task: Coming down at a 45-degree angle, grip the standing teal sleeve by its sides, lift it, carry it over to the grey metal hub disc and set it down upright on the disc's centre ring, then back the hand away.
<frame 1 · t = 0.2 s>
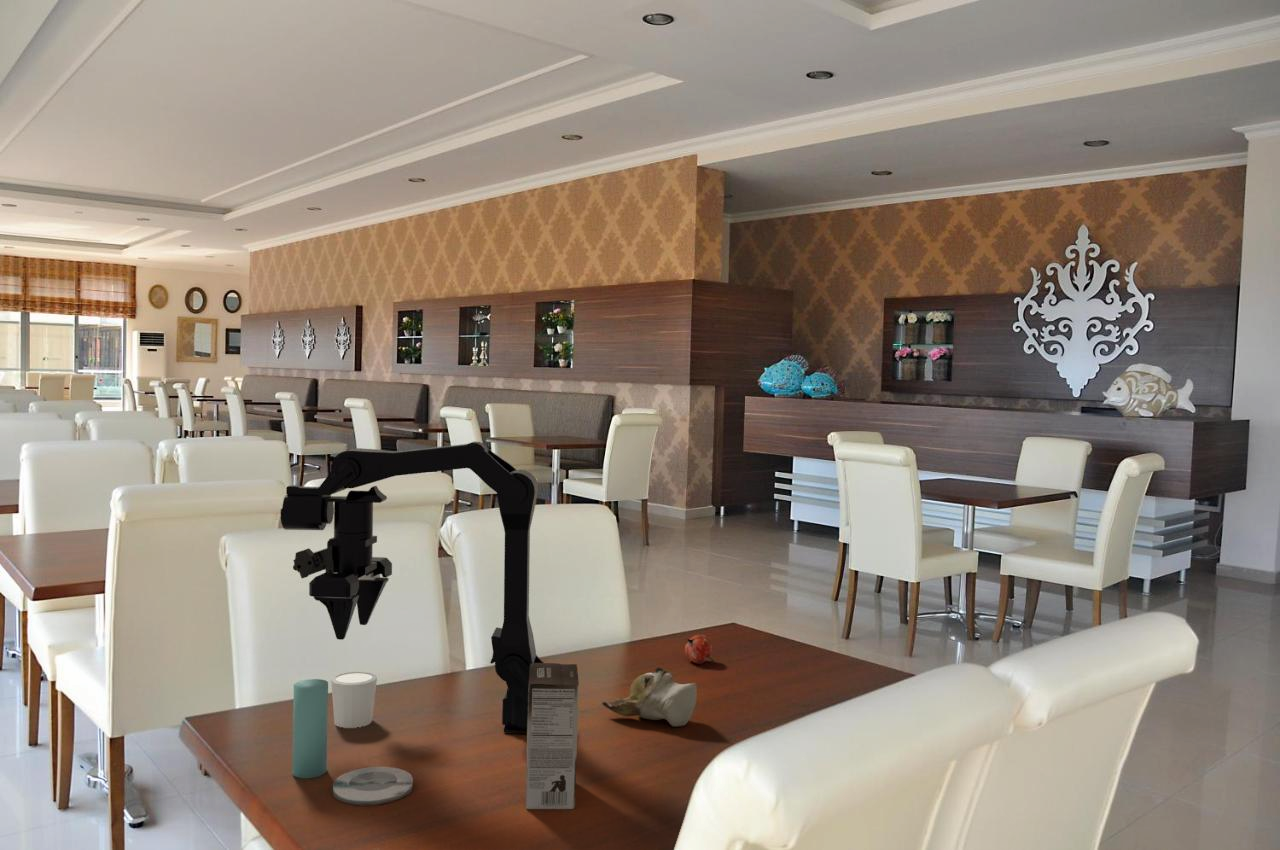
hand: (352, 631, 151), 14 cm above the table, fingers open, 9 cm apart
coffee box: (550, 796, 128), on the table
hub disc: (373, 789, 128), on the table
white candle cup: (353, 723, 153), on the table
ceramic sculpture: (655, 720, 159), on the table
pomegranate: (699, 663, 192), on the table
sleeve: (309, 771, 133), on the table
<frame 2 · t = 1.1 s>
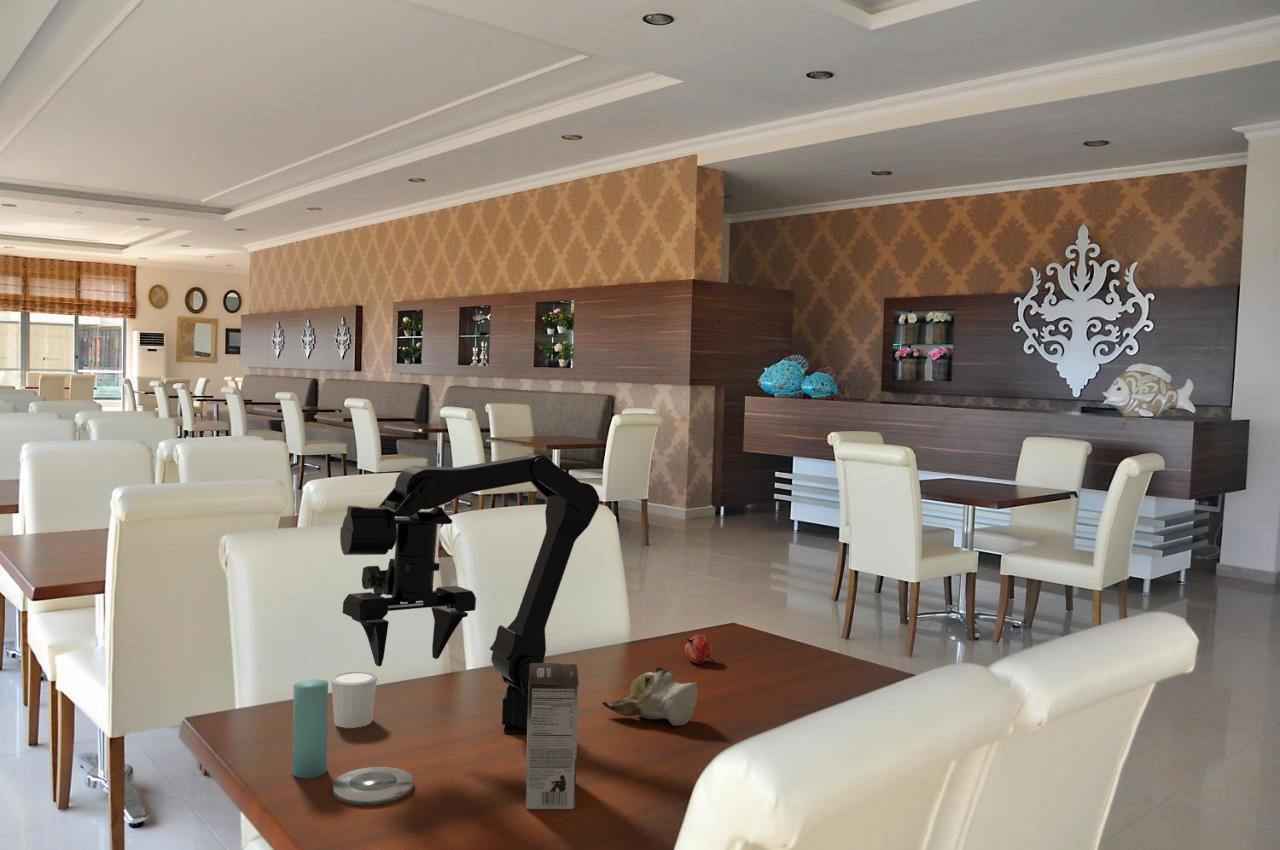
hand: (407, 661, 142), 13 cm above the table, fingers open, 9 cm apart
nothing on the table moved.
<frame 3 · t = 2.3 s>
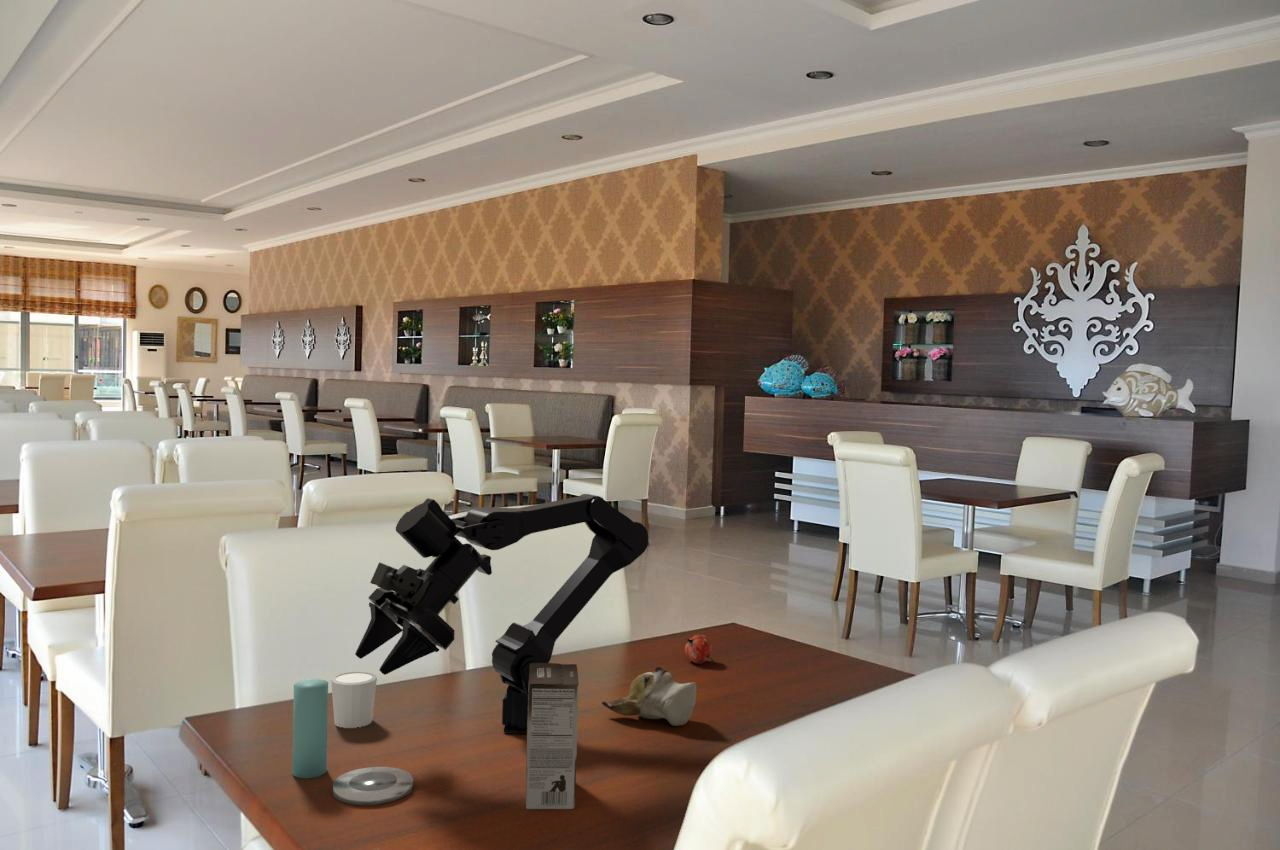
hand: (369, 664, 137), 13 cm above the table, fingers open, 9 cm apart
nothing on the table moved.
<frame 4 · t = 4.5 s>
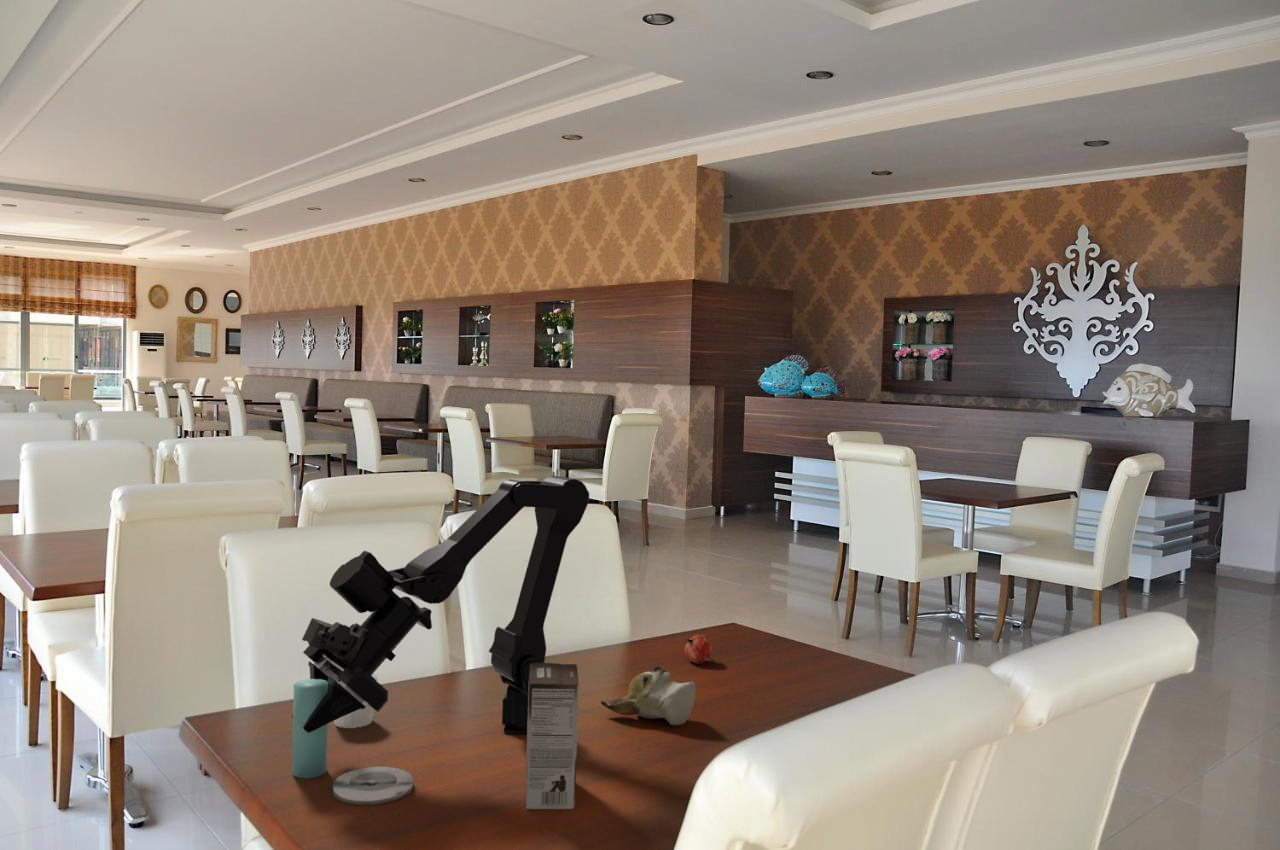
hand: (299, 725, 132), 7 cm above the table, fingers closed on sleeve, 4 cm apart
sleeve: (309, 771, 133), on the table, touching gripper
everything else where it was.
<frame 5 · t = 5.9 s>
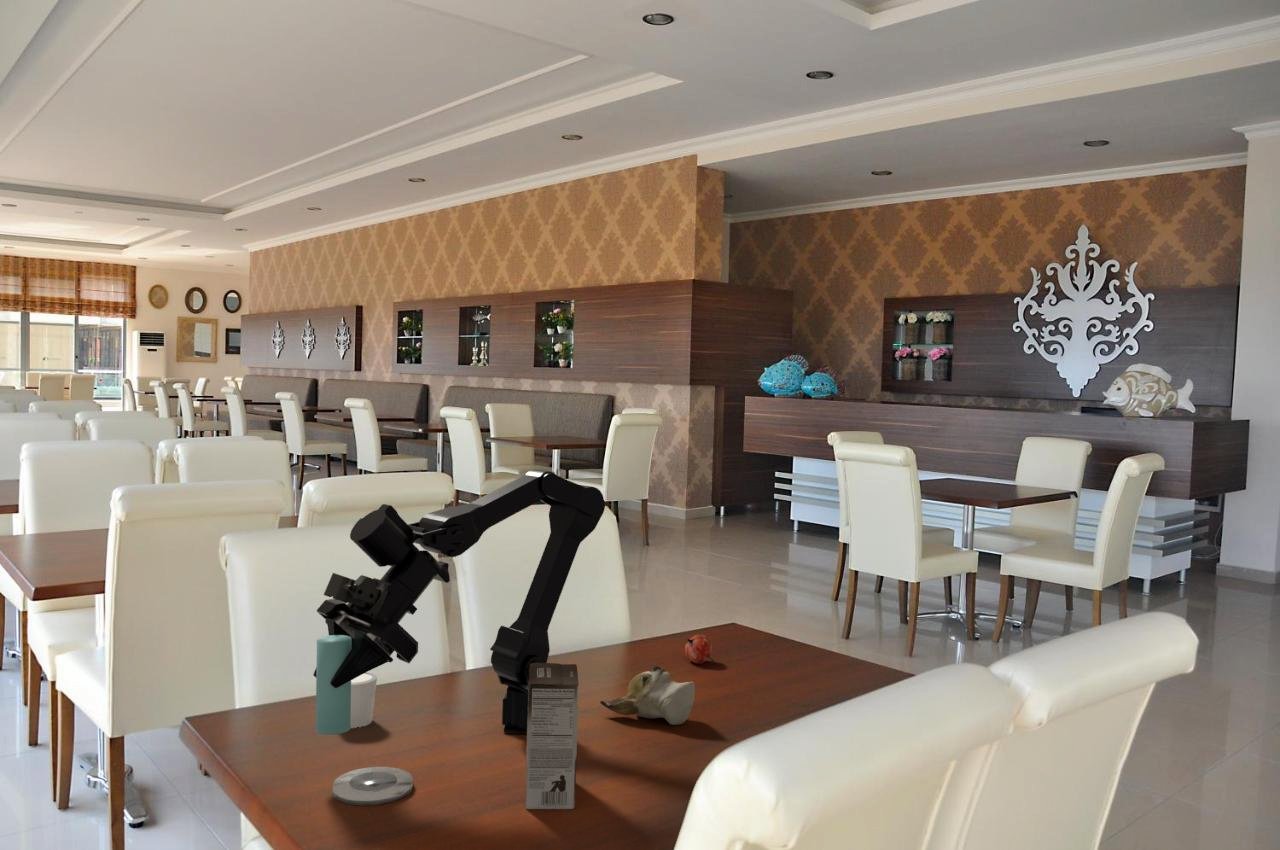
hand: (324, 681, 129), 13 cm above the table, fingers closed on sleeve, 4 cm apart
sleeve: (333, 728, 130), point 7 cm above the table, touching gripper
everything else where it was.
when the fingers open (9 cm above the table, at t = 7.6 s): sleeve drops 1 cm, resting on hub disc.
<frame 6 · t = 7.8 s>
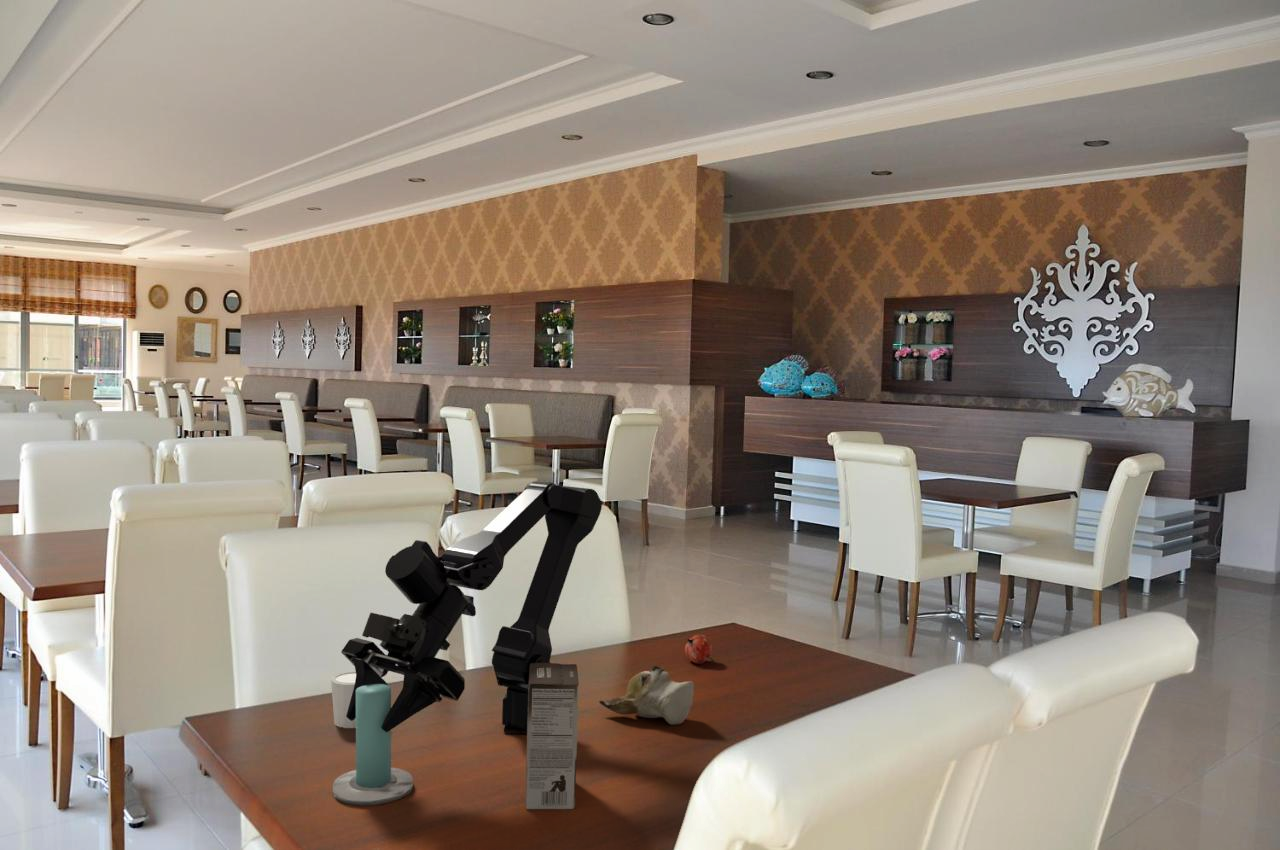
hand: (366, 724, 126), 9 cm above the table, fingers open, 6 cm apart
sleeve: (373, 780, 128), point 1 cm above the table, touching hub disc
everything else where it was.
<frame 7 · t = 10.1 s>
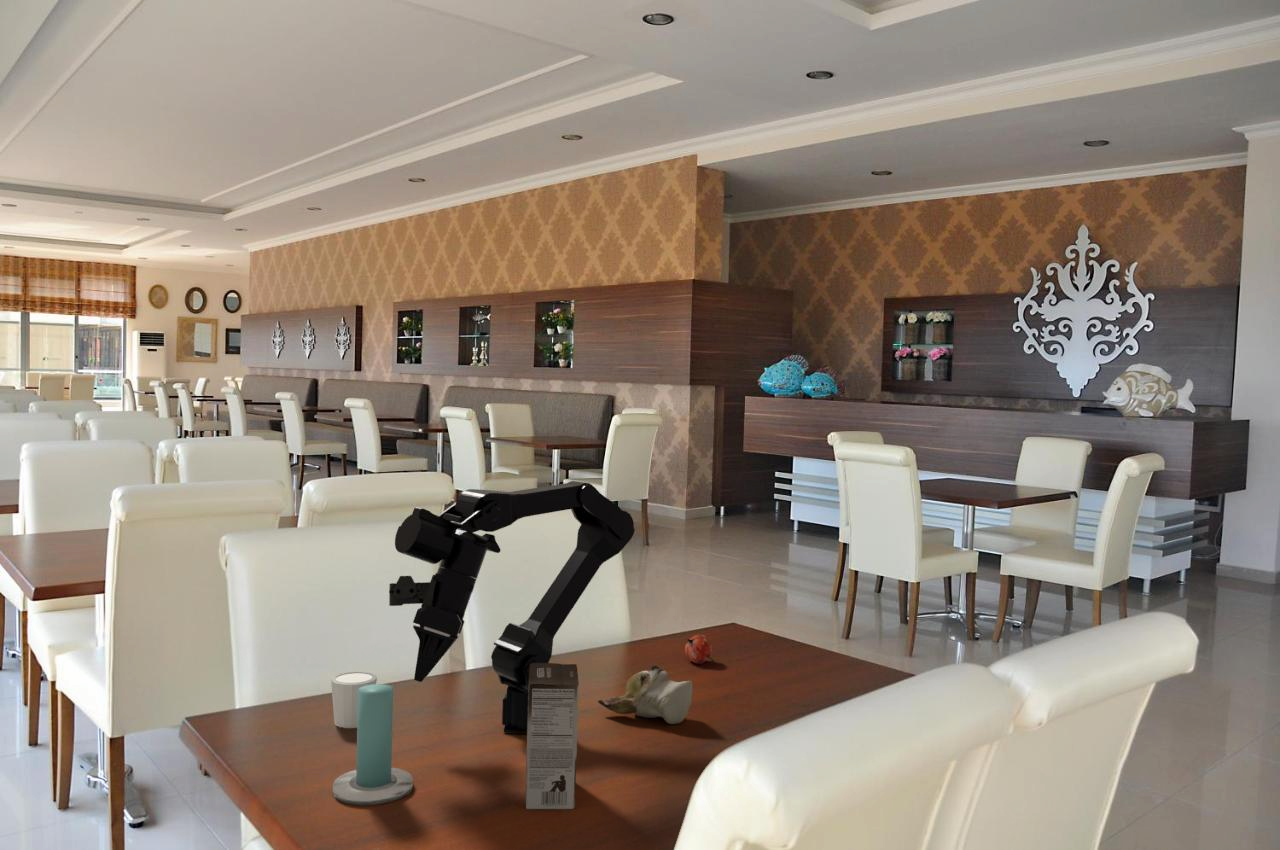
hand: (420, 678, 139), 11 cm above the table, fingers open, 9 cm apart
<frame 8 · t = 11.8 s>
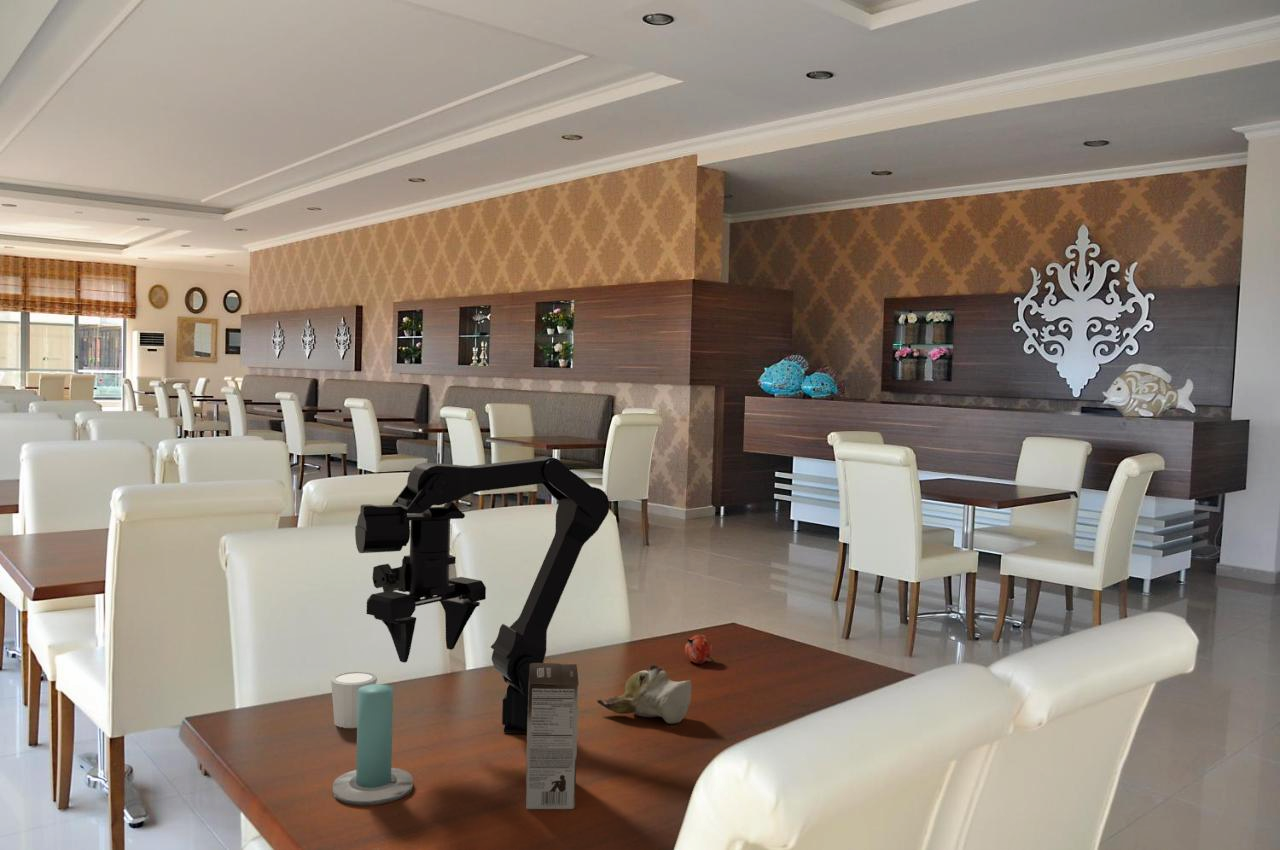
hand: (427, 655, 144), 13 cm above the table, fingers open, 9 cm apart
at the end: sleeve 0.0 cm from the hub disc (horizontally); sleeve tilted 0°; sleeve point 1.1 cm above the table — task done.
